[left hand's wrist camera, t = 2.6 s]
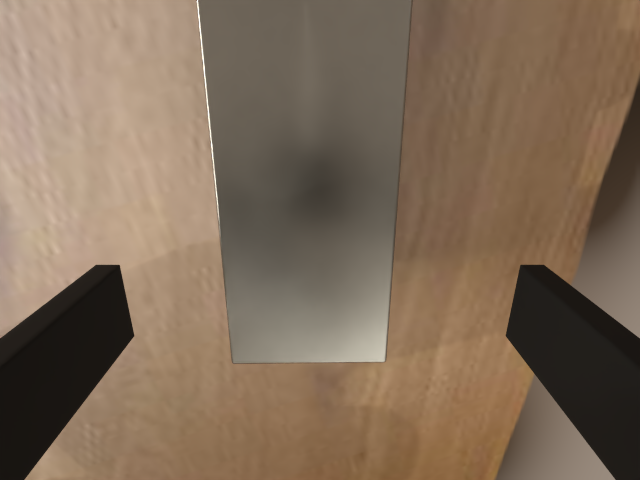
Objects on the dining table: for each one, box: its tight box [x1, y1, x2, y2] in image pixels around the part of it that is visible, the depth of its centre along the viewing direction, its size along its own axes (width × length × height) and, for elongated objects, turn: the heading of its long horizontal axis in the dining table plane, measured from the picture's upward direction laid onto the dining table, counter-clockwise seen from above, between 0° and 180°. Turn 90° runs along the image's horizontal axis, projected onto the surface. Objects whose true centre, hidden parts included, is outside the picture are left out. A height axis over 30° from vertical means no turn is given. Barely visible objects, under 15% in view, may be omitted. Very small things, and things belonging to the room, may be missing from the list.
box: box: [196, 0, 413, 364], centre depth 15 cm, size 25×6×9 cm, turn 0°
